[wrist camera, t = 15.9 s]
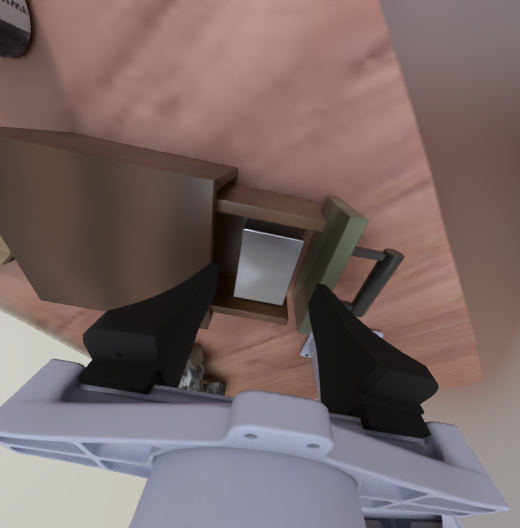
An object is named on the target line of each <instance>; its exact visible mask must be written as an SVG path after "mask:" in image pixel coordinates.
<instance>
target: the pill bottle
mask: <svg viewBox="0 0 520 528" xmlns="http://www.w3.org/2000/svg"><path fill="white" fill-rule="evenodd" d="M30 35H31V25H30V16H29V12H28V8H27V4H26V1H25V0H0V56H1V57H7V58H14V57H17V56H18V55H20V54H22V53H23V52H24V51H25V50H26V48H27V46H28V44H29V41H30Z"/></svg>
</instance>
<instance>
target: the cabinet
mask: <svg viewBox="0 0 520 528" xmlns="http://www.w3.org/2000/svg"><path fill="white" fill-rule="evenodd" d="M237 170H238V168H235V167H231V166H226V165H221V164H217V163H212V162H207V161H202V160H198V159H193V158H188V157H183V156H179V155H174V154H169V153H165V152H160V151H155V150H150V149H146V148H141V147H136V146H132V145H127V144H122V143H117V142H113V141H108V140H103V139H98V138H94V137H89V136H84V135H80V134H75V133H70V132H60V131H48V130H35V129H23V128H10V127H0V236H1V237H2V239H3V241H4V242H5V244H6V245H7V247H8V249H9V250H10V252H11V253H12V255H13V257H14V258H15V260H16V261H17V263H18V265H19V266H20V268H21V269H22V271H23V273H24V274H25V276H26V277H27V279H28V281H29V282H30V284H31V285H32V287H33V289H34V290H35V292H36V293H37V295H38V297H39V298H40V300H42V301H48V302H54V303H60V304H65V305H71V306H77V307H82V308H88V309H94V310H100V311H105V312H107V311H108V310H111V309H115V308H119V307H123V306H127V305H130V304H134V303H137V302H140V301H143V300H146V299H148V298H151V297H154V296H156V295H158V294H161V293H163V292H165V291H167V290H169V289H171V288H173V287H175V286H177V285H179V284H181V283H182V282H184V281H185V280H187V279H188V278H190V277H191V276H193V275H194V274H196V273H197V272H198V271H200V270H201V269H202V268H204V267H205V266H206V265H208V264H209V263H213V251H214V233H215V214H216V195H217V190H219V189H220V188H221V187H223V186H224V185H225V184H227V183H228V184H233V185H236V179H237ZM210 308H211V304H210V307H209V309H208V311H207V313H206V315H205V317H204V319H203V321H202V323H201V325H200V327H199V328H202V329H208V327H209V324H210V321H211V318H212V316H213V313H214V312H211V311H210Z"/></svg>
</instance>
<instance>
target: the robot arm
mask: <svg viewBox="0 0 520 528" xmlns="http://www.w3.org/2000/svg"><path fill="white" fill-rule="evenodd" d="M218 268H219V264H214V263H209V264H208V265H206V266H205V267H204V268H202V269H201V270H200V271H198V272H197V273H196V274H194V275H193V276H191V277H190V278H188V279H187V280H185V281H184V282H182V283H181V284H179V285H177V286H175V287H173V288H171V289H169V290H167V291H165V292H163V293H161V294H158V295H156V296H154V297H151V298H148V299H146V300H143V301H140V302H137V303H134V304H130V305H127V306H123V307H119V308H115V309H111V310H108V311H107V312H106V313H105V314H103V315H102V316H101V317H100V318H99V319H98V320H97V321H96V322H95V323H94V324H93V325H92V326H91V327H90V328H89V329H88V330H87V331H86V332H85V333H84V334H83V342H84V345H85V347H86V348H87V350H88V352H89V354H90V356H91V358H92V359H93V360H92V361H91V362H90V363H89V364H88V366H87V367H85V366H84V365H82V364H80V363H76V362H70V361H64V360H58V359H51V360H50V361H49V362H48V363H47V364H46V365H45V366H44V367H43V368H42V369H40V370H39V371H38V372H37V373H36V374H35V375H34V376H33V377H32V378H31V379H30V380H29V381H28V382H27V383H26V384H25V385H23V386H22V387H21V388H20V389H19V390H18V391H17V392H16V393H15V394H14V395H13V396H12V397H11V398H10V399H8V401H6V402H5V403H4V404H3V405H2V406H1V407H0V445H2V446H4V447H5V448H7V449H9V450H11V451H13V452H15V453H18V454H25V455H31V456H38V457H44V458H50V459H55V460H61V461H66V462H71V463H76V464H81V465H85V466H91V467H95V468H100V469H105V470H109V471H114V472H119V473H124V474H129V475H133V476H138V477H142V478H147V482H146V485H145V487H144V490H143V493H142V495H141V498H140V500H139V503H138V506H137V508H136V511H135V513H134V516H133V518H132V521H131V524H130V526H129V528H464V526H463V524H462V522H461V520H460V518H459V517H467V516H474V515H482V514H490V513H496V512H504V511H509V509H510V508H509V506H508V504H507V503H506V501H505V500H504V498H503V497H502V495H501V494H500V492H499V491H498V489H497V488H496V486H495V485H494V483H493V481H492V480H491V478H490V477H489V476H488V474H487V472H486V471H485V469H484V468H483V466H482V465H481V463H480V462H479V460H478V459H477V457H476V456H475V454H474V453H473V451H472V449H471V448H470V446H469V445H468V443H467V442H466V440H465V439H464V437H463V436H462V434H461V433H460V431H459V430H458V428H457V427H456V426H455V425H452V424H446V423H440V422H426V423H425V422H424V420H423V418H422V416H421V414H424V411H423V409H422V407H421V405H420V404H421V403H423V402H424V401H426V400H427V399H429V398H430V397H432V396H433V395H434V394H435V393H436V392H437V390H438V383H437V382H436V380H435V379H434V377H433V376H432V374H431V373H430V371H429V370H428V368H427V367H426V366H425V365H423V364H421V363H419V362H418V361H416V360H414V359H413V358H411V357H409V356H408V355H406V354H404V353H403V352H401V351H400V350H398V349H396V348H395V347H393V346H392V345H390V344H389V343H388V342H386V341H385V340H383V339H382V337H383V336H384V335H383V333H382V332H379V331H374V330H370V329H369V328H368V327H367V326H366V325H364V324H363V323H362V322H361V321H360V320H359V319H358V318H357V317H356V316H355V315H354V314H353V313H351V312H350V311H349V310H348V308H347V307H346V306H345V305H344V304H343V303H342V302H341V301H340V300H339V299H338V298H337V297H336V295H335V294H334V293H333V292H332V291H331V290H330V289H329V288H328V287H327V286H326V285H324V284H319V283H317V285H316V287H315V290H314V292H313V294H312V296H311V299H310V301H309V303H308V309H309V318H310V323H311V328H312V331H311V333H310V335H309V337H308V338H307V340H306V342H305V344H304V346H303V348H302V350H301V352H300V354H301V356H304V357H310V358H311V359H312V365H313V370H314V376H315V382H316V387H317V393H318V399H319V401H317V400H314V399H310V398H304V397H298V396H292V395H286V394H280V393H274V392H268V391H262V390H246V391H242V392H239V393H238V394H237V395H236V396H235V397H229V396H223V395H217V394H210V393H204V392H198V391H192V390H186V389H180V388H179V385H180V382H181V378H182V375H183V372H184V369H185V366H186V363H187V360H188V357H189V355H190V352H191V349H192V346H193V343H194V340H195V338H196V335H197V332H198V330H199V327H200V325H201V323H202V321H203V319H204V317H205V315H206V313H207V311H208V309H209V307H210V304H211V302H212V300H213V298H214V295H215V292H216V289H217V282H218Z"/></svg>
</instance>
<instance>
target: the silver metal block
mask: <svg viewBox="0 0 520 528" xmlns="http://www.w3.org/2000/svg"><path fill="white" fill-rule="evenodd" d="M303 244H304V238H303V235H302V232H301V229H300V228H297V227H292V226H287V225H282V224H277V223H272V222H267V221H262V220H257V219H252V218H247V220H246V223H245V225H244V228H243V232H242V239H241V246H240V253H239V260H238V267H237V274H236V281H235V288H234V295H233V296H234V297H239V298H244V299H250V300H255V301H260V302H266V303H271V304H277V305H283V302H284V299H285V296H286V293H287V291H288V288H289V285H290V282H291V279H292V276H293V273H294V270H295V267H296V265H297V262H298V259H299V256H300V253H301V250H302V247H303Z"/></svg>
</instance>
